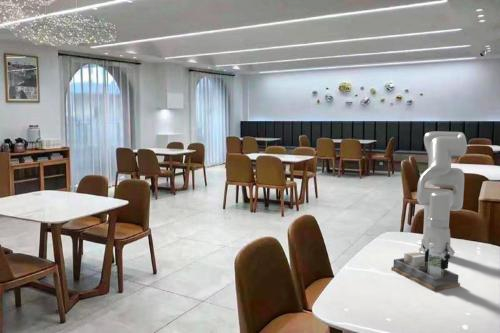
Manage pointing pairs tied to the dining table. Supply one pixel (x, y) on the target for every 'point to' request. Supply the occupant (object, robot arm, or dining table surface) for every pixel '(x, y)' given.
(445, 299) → the dining table surface
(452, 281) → the divided tray
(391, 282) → the dining table surface
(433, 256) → the syrup box
